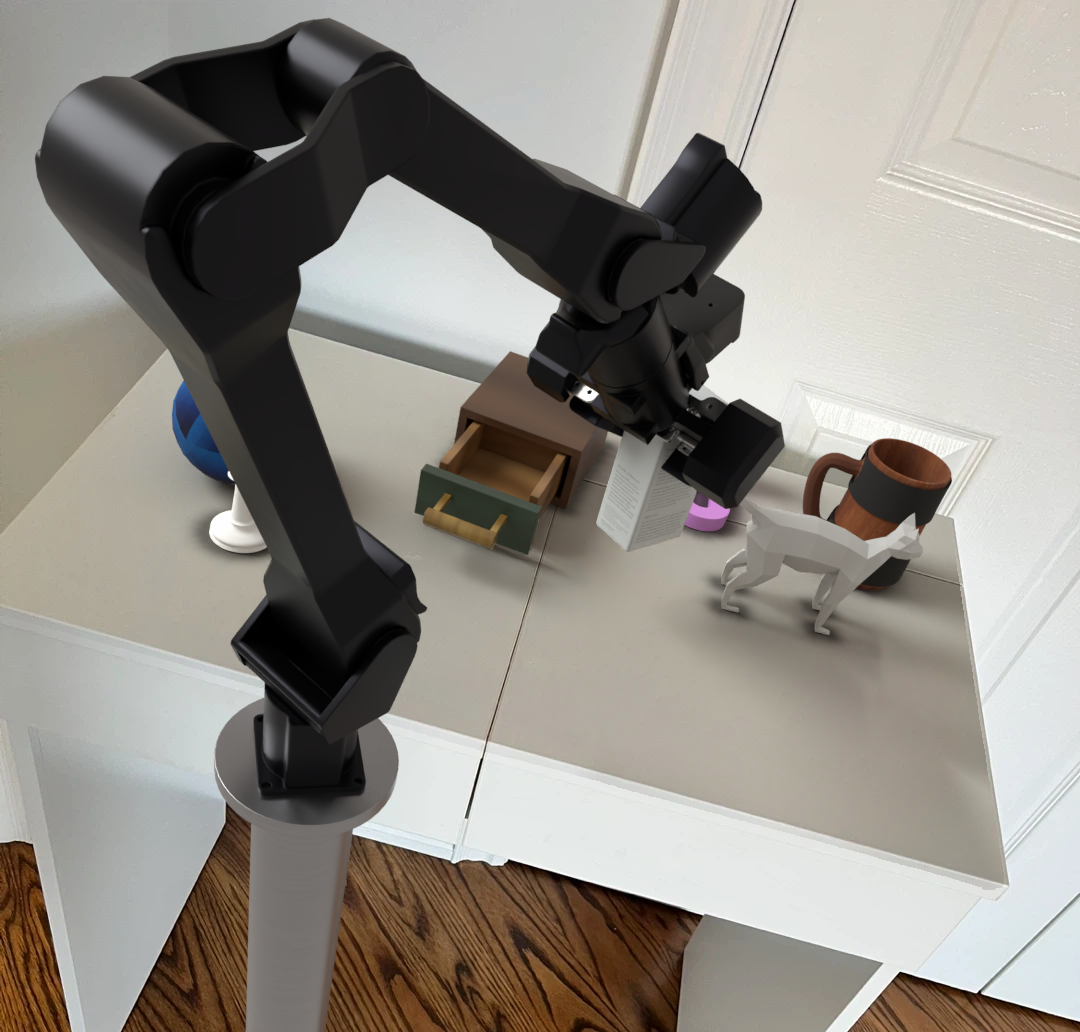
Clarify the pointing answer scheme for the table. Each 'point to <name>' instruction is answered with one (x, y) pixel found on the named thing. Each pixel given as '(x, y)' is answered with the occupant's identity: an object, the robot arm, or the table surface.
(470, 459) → the drawer
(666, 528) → the cosmetic box
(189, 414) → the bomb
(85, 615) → the table surface
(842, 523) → the mug
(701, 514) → the bracket
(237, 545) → the chess piece
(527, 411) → the cabinet
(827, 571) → the cat figurine
